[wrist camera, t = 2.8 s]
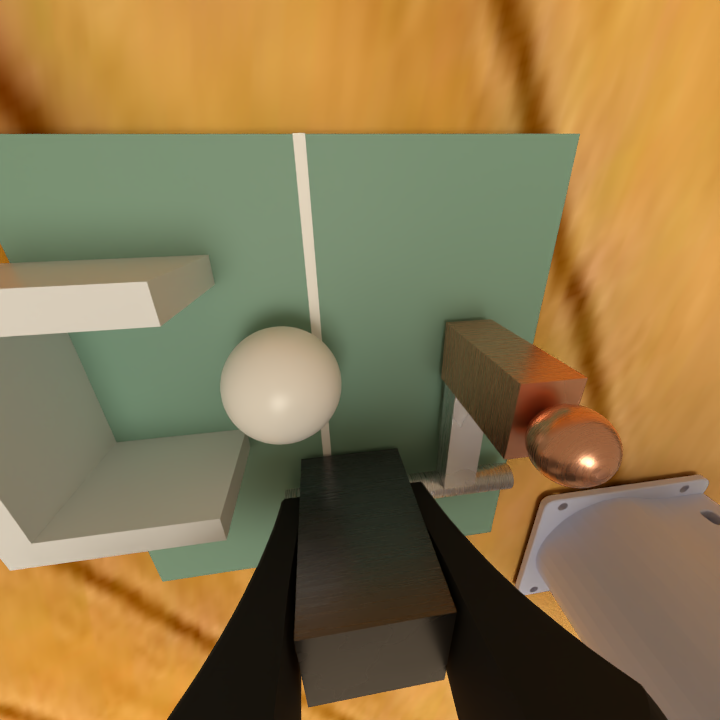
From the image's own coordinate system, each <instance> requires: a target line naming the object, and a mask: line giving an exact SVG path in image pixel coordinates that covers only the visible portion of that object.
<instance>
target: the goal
mask: <svg viewBox="0 0 720 720" xmlns="http://www.w3.org/2000/svg"><path fill="white" fill-rule="evenodd" d="M214 285H215V283H214V278H213V274H212V269H211V265H210V260H209V255H191V256H167V257H143V258H119V259H95V260H71V261H47V262H23V263H1V264H0V559H1V560H2V561H3V562H4V564H5V565H6V566H7V567H8V569H9V570H17V569H24V568H32V567H39V566H46V565H53V564H60V563H67V562H74V561H81V560H89V559H96V558H103V557H110V556H117V555H124V554H131V553H138V552H146V551H153V550H160V549H167V548H174V547H181V546H188V545H196V544H203V543H210V542H217V541H224V540H227V537H228V533H229V529H230V525H231V521H232V517H233V513H234V509H235V505H236V501H237V498H238V494H239V490H240V486H241V482H242V478H243V474H244V470H245V466H246V462H247V458H248V455H249V451H250V443H249V438H248V435H246V434H245V433H243V432H242V431H241V430H231V431H221V432H212V433H202V434H192V435H182V436H173V437H163V438H153V439H143V440H134V441H124V442H116V440H115V438H114V436H113V433H112V431H111V429H110V427H109V424H108V422H107V420H106V418H105V415H104V413H103V411H102V409H101V406H100V404H99V402H98V400H97V397H96V395H95V393H94V391H93V388H92V386H91V384H90V382H89V379H88V377H87V375H86V373H85V370H84V368H83V366H82V364H81V361H80V359H79V357H78V355H77V352H76V350H75V348H74V346H73V343H72V341H71V339H70V337H69V334H68V333H69V332H85V331H100V330H115V329H131V328H146V327H161V326H162V325H163V324H165V323H166V322H167V321H168V320H170V319H171V318H172V317H174V316H175V315H176V314H177V313H179V312H180V311H181V310H183V309H184V308H185V307H187V306H188V305H189V304H190V303H192V302H193V301H194V300H196V299H197V298H198V297H199V296H201V295H202V294H203V293H205V292H206V291H207V290H208V289H210V288H211V287H212V286H214Z"/></svg>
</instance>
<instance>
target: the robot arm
mask: <svg viewBox="0 0 720 720" xmlns="http://www.w3.org/2000/svg"><path fill="white" fill-rule="evenodd" d="M410 484H411V487H412V490H413V493H414V495H415V498H416V501H417V504H418V506H419V509H420V512H421V515H422V517H423V520H424V523H425V526H426V528H427V531H428V534H429V537H430V539H431V542H432V545H433V548H434V550H435V553H436V556H437V559H438V561H439V564H440V567H441V570H442V573H443V575H444V578H445V581H446V584H447V586H448V589H449V592H450V595H451V597H452V600H453V603H454V606H455V608H456V611H457V614H456V619H455V625H454V630H453V635H452V641H451V646H450V651H449V657H448V662H447V668H446V671H447V675H448V679H449V683H450V687H451V691H452V695H453V699H454V703H455V707H456V711H457V715H458V719H459V720H720V505H719V504H717V503H716V502H715V501H713V500H712V499H710V498H709V497H708V496H706V495H705V494H703V493H704V492H705V490H706V488H707V487H708V485H709V481H708V480H707V479H706V478H704V477H703V476H701V475H691V476H684V477H677V478H670V479H663V480H655V481H648V482H641V483H634V484H627V485H620V486H613V487H606V488H598V489H591V490H584V491H577V492H570V493H563V494H556V495H550V496H547V497H545V498H544V499H542V501H541V502H540V506H539V509H538V512H537V515H536V519H535V522H534V525H533V528H532V532H531V535H530V538H529V542H528V545H527V548H526V551H525V555H524V558H523V561H522V564H521V568H520V571H519V574H518V577H517V581H516V584H515V586H513V585H512V584H511V583H510V582H509V581H508V580H507V579H506V578H505V577H504V576H503V575H502V574H501V573H500V572H499V571H498V570H497V569H496V568H495V567H494V566H493V565H492V564H491V563H490V562H489V561H488V560H487V559H486V558H485V557H484V556H483V555H482V554H481V553H480V552H479V551H478V550H477V549H476V548H475V547H474V546H473V545H472V543H471V542H470V541H469V540H468V539H467V538H466V537H465V536H464V534H463V533H462V532H461V531H460V530H459V529H458V528H457V526H456V525H455V524H454V523H453V522H452V521H451V519H450V518H449V517H448V516H447V514H446V513H445V512H444V511H443V509H442V508H441V507H440V506H439V504H438V503H437V502H436V500H435V499H434V498H433V496H432V495H431V494H430V492H429V491H428V490H427V488H426V487H425V485H424V484H423V483H422V482H421V481H420V482H412V483H410ZM299 503H300V497H295V498H287V499H284V500H283V501H282V502H281V505H280V509H279V512H278V515H277V519H276V521H275V524H274V527H273V530H272V532H271V535H270V537H269V540H268V542H267V545H266V547H265V549H264V552H263V554H262V556H261V559H260V561H259V563H258V566H257V568H256V570H255V572H254V574H253V576H252V578H251V580H250V582H249V584H248V586H247V588H246V590H245V592H244V594H243V596H242V598H241V600H240V602H239V604H238V606H237V608H236V610H235V611H234V613H233V615H232V617H231V619H230V621H229V622H228V624H227V626H226V628H225V629H224V631H223V633H222V635H221V636H220V638H219V640H218V641H217V643H216V645H215V646H214V648H213V650H212V651H211V653H210V655H209V656H208V658H207V660H206V661H205V663H204V664H203V666H202V668H201V669H200V671H199V672H198V674H197V675H196V677H195V679H194V680H193V682H192V683H191V685H190V686H189V688H188V689H187V691H186V692H185V694H184V695H183V697H182V698H181V699H180V701H179V702H178V704H177V705H176V707H175V708H174V710H173V711H172V713H171V714H170V716H169V717H168V719H167V720H301V671H300V666H299V662H298V657H297V653H296V648H295V643H294V630H295V605H296V580H297V554H298V529H299ZM545 591H550V592H551V593H552V595H553V596H554V598H555V600H556V601H557V603H558V604H559V606H560V607H561V609H562V611H563V612H564V614H565V615H566V617H567V619H568V620H569V622H570V623H571V625H572V627H573V628H574V630H575V631H576V633H577V635H578V636H579V638H580V639H581V641H582V642H581V641H580V640H578V639H577V638H576V637H575V636H573V635H572V634H571V633H569V632H568V631H567V630H565V629H564V628H563V627H562V626H561V625H559V624H558V623H557V622H556V621H554V620H553V619H552V618H551V617H550V616H548V615H547V614H546V613H545V612H543V611H542V610H541V609H540V608H539V607H537V606H536V605H535V604H534V603H533V602H531V601H530V600H529V599H528V598H527V597H526V596H525V595H528V594H534V593H540V592H545Z"/></svg>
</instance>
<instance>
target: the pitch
mask: <svg viewBox="0 0 720 720" xmlns="http://www.w3.org/2000/svg"><path fill="white" fill-rule="evenodd" d="M579 136H580V134H305V133H292V134H0V243H1V245H2V247H3V249H4V251H5V254H6V256H7V258H8V260H9V262H10V263H23V262H47V261H71V260H95V259H119V258H143V257H167V256H191V255H209V260H210V265H211V269H212V274H213V278H214V283H215V285H214V286H212V287H211V288H210V289H208V290H207V291H206V292H205V293H203V294H202V295H201V296H199V297H198V298H197V299H196V300H194V301H193V302H192V303H190V304H189V305H188V306H187V307H185V308H184V309H183V310H181V311H180V312H179V313H177V314H176V315H175V316H174V317H172V318H171V319H170V320H168V321H167V322H166V323H165V324H163V325H162V326H161V327H146V328H131V329H115V330H100V331H85V332H69V333H68V334H69V337H70V339H71V341H72V343H73V346H74V348H75V350H76V352H77V355H78V357H79V359H80V361H81V364H82V366H83V368H84V370H85V373H86V375H87V377H88V379H89V382H90V384H91V386H92V388H93V391H94V393H95V395H96V397H97V400H98V402H99V404H100V406H101V409H102V411H103V413H104V415H105V418H106V420H107V422H108V424H109V427H110V429H111V431H112V433H113V436H114V438H115V440H116V442H124V441H134V440H143V439H153V438H163V437H173V436H182V435H192V434H202V433H212V432H221V431H231V430H240V429H239V428H237V427H236V426H235V424H234V423H233V422H232V421H231V419H230V418H229V416H228V414H227V413H226V411H225V409H224V406H223V403H222V399H221V393H220V380H221V374H222V370H223V367H224V364H225V362H226V360H227V358H228V356H229V355H230V353H231V352H232V351H233V349H234V348H235V347H236V346H237V345H238V344H239V343H240V342H241V341H242V340H243V339H245V338H246V337H248V336H249V335H251V334H253V333H255V332H257V331H259V330H262V329H265V328H269V327H277V326H287V327H294V328H298V329H302V330H304V331H307V332H309V333H311V334H313V335H314V336H316V337H317V338H319V339H320V340H321V341H322V342H323V343H325V344H326V346H327V347H328V348H329V349H330V350H331V352H332V353H333V355H334V357H335V359H336V361H337V363H338V366H339V369H340V373H341V383H342V384H341V395H340V400H339V403H338V406H337V408H336V410H335V412H334V414H333V416H332V417H331V419H330V420H329V421H328V422H327V423H326V425H325V426H324V427H323V428H322V429H320V430H319V431H318V432H317V433H315V434H314V435H312V436H310V437H308V438H306V439H304V440H302V441H299V442H296V443H291V444H282V445H278V444H268V443H264V442H260V441H258V440H255V439H253V438H251V437H249V436H248V438H249V443H250V451H249V455H248V458H247V462H246V466H245V470H244V474H243V478H242V482H241V486H240V490H239V494H238V498H237V501H236V505H235V509H234V513H233V517H232V521H231V525H230V529H229V533H228V537H227V540H224V541H217V542H210V543H203V544H196V545H188V546H181V547H174V548H167V549H160V550H153V551H148V552H149V554H150V556H151V558H152V560H153V562H154V564H155V566H156V569H157V571H158V573H159V575H160V577H161V579H162V581H169V580H176V579H183V578H189V577H196V576H202V575H209V574H216V573H222V572H229V571H235V570H242V569H249V568H255V567H257V566H258V563H259V561H260V559H261V556H262V554H263V552H264V549H265V547H266V545H267V542H268V540H269V537H270V535H271V532H272V530H273V527H274V524H275V521H276V519H277V515H278V512H279V509H280V505H281V502H282V501H283V500H284V495H285V490H286V489H294V488H300V478H301V459H306V458H315V457H323V456H332V455H341V454H349V453H358V452H367V451H375V450H384V449H393V448H398V451H399V454H400V457H401V459H402V462H403V465H404V468H405V470H406V473H407V474H413V473H421V472H429V471H436V463H437V453H438V444H439V434H440V424H441V414H442V404H443V395H444V385H445V382H444V381H443V380H442V379H441V373H442V363H443V352H444V342H445V331H446V322H460V321H474V320H488V319H491V320H493V321H495V322H496V323H498V324H500V325H501V326H503V327H505V328H506V329H508V330H510V331H511V332H513V333H514V334H516V335H518V336H519V337H521V338H523V339H524V340H526V341H528V342H529V343H531V344H533V341H534V336H535V332H536V327H537V323H538V318H539V314H540V309H541V305H542V301H543V296H544V292H545V287H546V283H547V278H548V274H549V269H550V265H551V260H552V256H553V252H554V247H555V243H556V238H557V234H558V229H559V225H560V220H561V216H562V211H563V207H564V203H565V198H566V194H567V189H568V185H569V180H570V176H571V171H572V167H573V162H574V158H575V154H576V149H577V145H578V140H579ZM506 461H507V459H506V460H504V459H503V457H502V456H501V455H500V453H499V452H498V451H497V450H496V448H495V447H494V446H493V444H492V443H491V442H490V441H489V439H488V438H487V437H486V435H485V434H484V433H483V438H482V444H481V450H480V455H479V461H478V465H485V464H493V463H501V462H505V463H506ZM499 492H500V490H495V491H488V492H481V493H473V494H466V495H459V496H451V497H444V498H436V499H435V500H436V502H437V503H438V504H439V506H440V507H441V508H442V509H443V511H444V512H445V513H446V514H447V516H448V517H449V518H450V519H451V521H452V522H453V523H454V524H455V525H456V526H457V528H458V529H459V530H460V531H461V532H462V533H463V534H464V536H467V535H474V534H480V533H487V532H491V528H492V523H493V519H494V514H495V510H496V506H497V501H498V497H499Z"/></svg>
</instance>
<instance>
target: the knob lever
mask: <svg viewBox="0 0 720 720" xmlns="http://www.w3.org/2000/svg"><path fill="white" fill-rule="evenodd" d="M441 379H442V380H443V381H444V382H445V385H444V395H443V404H442V414H441V424H440V434H439V444H438V453H437V463H436V471H429V472H421V473H413V474H407V473H406V470H405V468H404V465H403V462H402V459H401V457H400V454H399V451H398V448H393V449H384V450H375V451H367V452H358V453H349V454H341V455H332V456H323V457H315V458H306V459H301V478H300V488H294V489H286V490H285V495H284V499H287V498H295V497H300V503H299V529H298V554H297V580H296V605H295V630H294V643H295V648H296V653H297V657H298V662H299V666H300V671H301V676H302V680H303V685H304V690H305V694H306V699H307V703H308V707H312V706H317V705H322V704H327V703H332V702H337V701H342V700H347V699H352V698H357V697H362V696H366V695H371V694H376V693H381V692H386V691H391V690H396V689H401V688H406V687H411V686H416V685H420V684H425V683H430V682H435V681H440V680H444V678H445V673H446V668H447V662H448V657H449V651H450V646H451V641H452V635H453V630H454V625H455V619H456V614H457V611H456V608H455V606H454V603H453V600H452V597H451V595H450V592H449V589H448V586H447V584H446V581H445V578H444V575H443V573H442V570H441V567H440V564H439V561H438V559H437V556H436V553H435V550H434V548H433V545H432V542H431V539H430V537H429V534H428V531H427V528H426V526H425V523H424V520H423V517H422V515H421V512H420V509H419V506H418V504H417V501H416V498H415V495H414V493H413V490H412V487H411V484H410V483H412V482H420V481H421V482H422V483H423V484H424V485H425V487H426V488H427V490H428V491H429V492H430V494H431V495H432V496H433V498H434V499H436V498H444V497H451V496H459V495H466V494H473V493H481V492H488V491H495V490H503V489H510V488H512V487H513V484H514V479H513V474H512V471H511V469H510V467H509V466H508V465H507V464H506V463H505V462H501V463H493V464H485V465H478V461H479V455H480V450H481V444H482V438H483V433H484V434H485V435H486V437H487V438H488V439H489V441H490V442H491V443H492V444H493V446H494V447H495V448H496V450H497V451H498V452H499V453H500V455H501V456H502V457H503V459H504V460H506V459H514V458H522V457H529V458H530V460H531V462H532V463H533V465H534V466H535V467H536V468H537V469H538V470H539V471H540V472H541V473H542V474H543V475H544V476H545V477H547V478H548V479H550V480H552V481H553V482H556V483H558V484H560V485H563V486H567V487H572V488H590V487H594V486H598V485H600V484H603V483H604V482H606V481H608V480H609V479H610V478H611V477H613V475H614V474H615V473H616V472H617V470H618V469H619V467H620V465H621V461H622V456H623V448H622V443H621V439H620V437H619V435H618V433H617V431H616V430H615V428H614V427H613V425H612V424H611V423H610V422H609V421H608V420H607V419H606V418H605V417H603V416H602V415H600V414H599V413H597V412H596V411H594V410H592V409H589V408H587V407H584V406H580V405H579V403H580V400H581V397H582V394H583V391H584V388H585V385H586V381H587V377H585V376H584V375H582V374H580V373H579V372H577V371H575V370H574V369H572V368H570V367H569V366H567V365H566V364H564V363H562V362H561V361H559V360H557V359H556V358H554V357H552V356H551V355H549V354H547V353H546V352H544V351H542V350H541V349H539V348H538V347H536V346H534V345H533V344H531V343H529V342H528V341H526V340H524V339H523V338H521V337H519V336H518V335H516V334H514V333H513V332H511V331H510V330H508V329H506V328H505V327H503V326H501V325H500V324H498V323H496V322H495V321H493V320H491V319H488V320H474V321H460V322H446V331H445V342H444V352H443V363H442V373H441Z"/></svg>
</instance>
